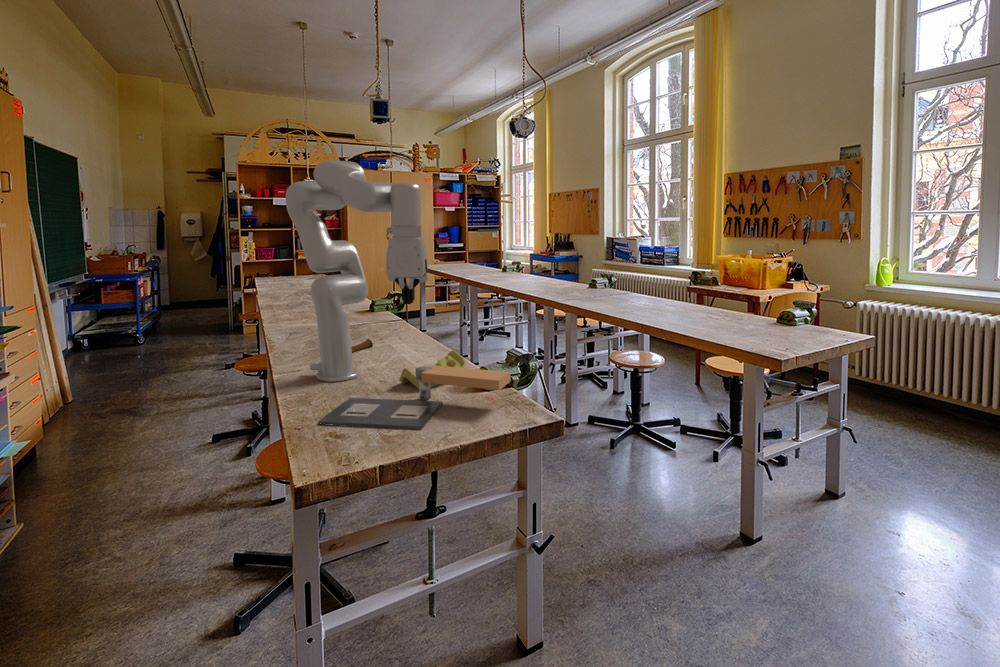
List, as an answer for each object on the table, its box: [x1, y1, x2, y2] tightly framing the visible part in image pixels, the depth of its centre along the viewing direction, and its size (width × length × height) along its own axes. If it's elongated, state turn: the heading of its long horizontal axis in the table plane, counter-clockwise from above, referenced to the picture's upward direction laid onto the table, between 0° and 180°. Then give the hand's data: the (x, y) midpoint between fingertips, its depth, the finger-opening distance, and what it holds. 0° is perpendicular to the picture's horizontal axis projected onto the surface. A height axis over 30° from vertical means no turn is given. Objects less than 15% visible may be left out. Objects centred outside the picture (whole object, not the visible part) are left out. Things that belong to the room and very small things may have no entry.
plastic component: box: [399, 350, 467, 390], centre depth 173 cm, size 20×7×10 cm
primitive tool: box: [351, 338, 374, 354], centre depth 211 cm, size 19×6×4 cm, turn 150°
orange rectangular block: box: [414, 364, 512, 391], centre depth 150 cm, size 8×26×2 cm, turn 68°
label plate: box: [317, 380, 443, 430], centre depth 146 cm, size 26×24×6 cm
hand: (408, 303), depth 151 cm, fingers closed
